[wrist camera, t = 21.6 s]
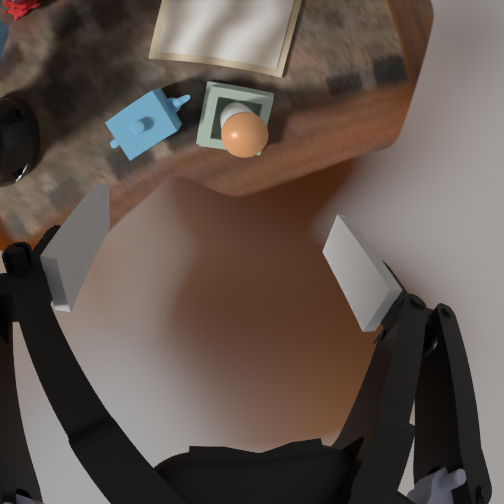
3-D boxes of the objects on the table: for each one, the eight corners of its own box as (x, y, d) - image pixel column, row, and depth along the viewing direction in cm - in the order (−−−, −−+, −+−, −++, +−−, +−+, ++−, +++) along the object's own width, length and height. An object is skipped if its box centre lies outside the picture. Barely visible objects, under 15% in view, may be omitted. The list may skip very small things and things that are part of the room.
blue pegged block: (183, 74, 32) (176, 74, 26) (204, 110, 35) (202, 118, 29) (112, 120, 34) (92, 131, 28) (133, 153, 37) (118, 170, 31)
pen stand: (196, 142, 38) (194, 149, 35) (207, 81, 33) (207, 81, 30) (258, 151, 40) (262, 159, 37) (272, 92, 35) (278, 95, 32)
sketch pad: (149, 59, 30) (148, 58, 29) (171, -27, 22) (170, -30, 21) (280, 77, 34) (281, 77, 33) (302, -6, 26) (304, -8, 25)
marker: (215, 125, 36) (216, 152, 25) (223, 96, 34) (228, 108, 22) (245, 132, 37) (261, 161, 26) (253, 104, 35) (274, 119, 24)
